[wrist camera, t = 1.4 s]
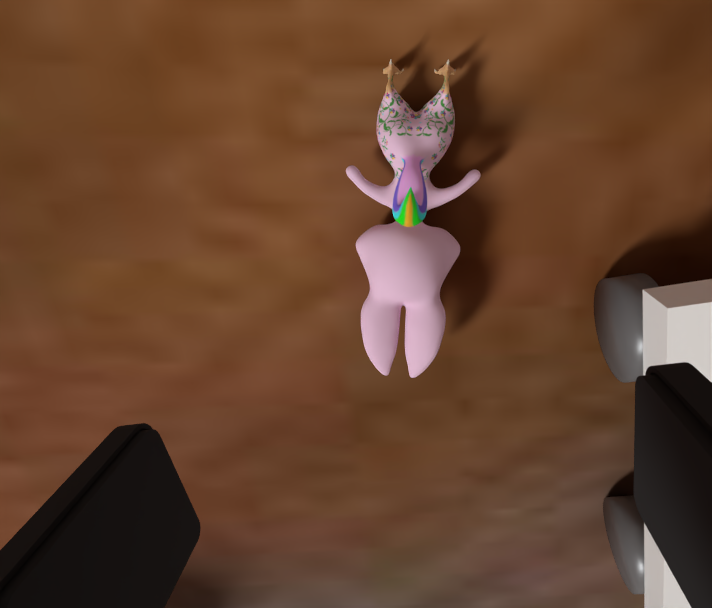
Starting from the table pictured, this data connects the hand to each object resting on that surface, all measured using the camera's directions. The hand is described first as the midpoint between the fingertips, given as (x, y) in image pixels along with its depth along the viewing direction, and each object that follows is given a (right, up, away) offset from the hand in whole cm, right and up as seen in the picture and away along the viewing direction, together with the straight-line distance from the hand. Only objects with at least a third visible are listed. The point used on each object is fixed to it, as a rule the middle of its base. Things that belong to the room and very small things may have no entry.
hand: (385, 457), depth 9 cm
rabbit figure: (+2, +7, +15) cm, 17 cm away
